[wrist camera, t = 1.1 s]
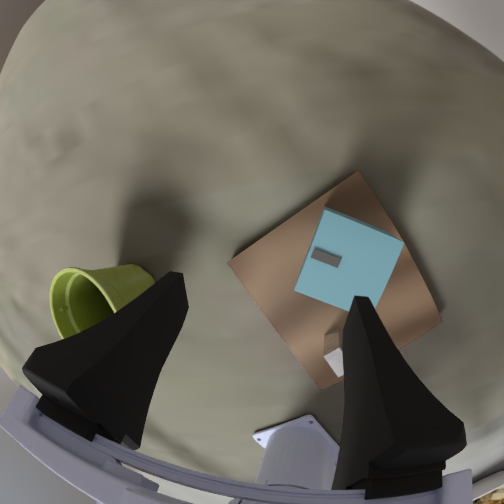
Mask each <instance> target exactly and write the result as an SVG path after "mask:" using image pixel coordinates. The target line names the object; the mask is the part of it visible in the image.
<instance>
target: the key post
mask: <svg viewBox="0 0 504 504" xmlns="http://www.w3.org/2000/svg"><path fill="white" fill-rule="evenodd" d="M342 343H343V334H342V332H341V331H340V329H339V328H336V329H334V330H332V331H331V332H329V333H327V334H325V335H324V352H323V357H324V358H325V359H326V361H327V362H328V364H329V365H330V366H331V368H332V369H333V371H334V372H335V373H336V375H337V376H338V377H340V376H342V375H344V371H343V355H342Z"/></svg>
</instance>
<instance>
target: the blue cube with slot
mask: <svg viewBox="0 0 504 504" xmlns="http://www.w3.org/2000/svg"><path fill="white" fill-rule="evenodd" d="M403 245H404V242H403V241H401V240H400V239H398V238H397V237H395V236H393V235H392V234H390V233H389V232H387V231H384V230H382V229H380V228H377V227H375V226H373V225H370V224H368V223H365V222H363V221H360V220H358V219H356V218H353V217H351V216H348V215H346V214H343V213H341V212H338V211H335V210H333V209H330V208H328V207H325V206H324V208H323V211H322V214H321V216H320V219H319V222H318V224H317V227H316V230H315V233H314V235H313V238H312V241H311V243H310V246H309V248H308V251H307V254H306V256H305V259H304V261H303V264H302V267H301V269H300V272H299V275H298V279H297V282H296V285H295V288H294V291H297V292H299V293H302V294H304V295H307V296H310V297H312V298H315V299H317V300H320V301H323V302H325V303H328V304H331V305H333V306H336V307H338V308H341V309H344V310H346V311H349V310H350V307H351V304H352V301H353V298H354V295H356V296H366V297H369V298H370V300H371V302H372V304H373V306H374V308H376V306H377V304H378V301H379V299H380V297H381V295H382V293H383V291H384V289H385V287H386V284H387V282H388V280H389V278H390V276H391V273H392V271H393V269H394V267H395V264H396V262H397V259H398V257H399V255H400V252H401V250H402V247H403Z"/></svg>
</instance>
